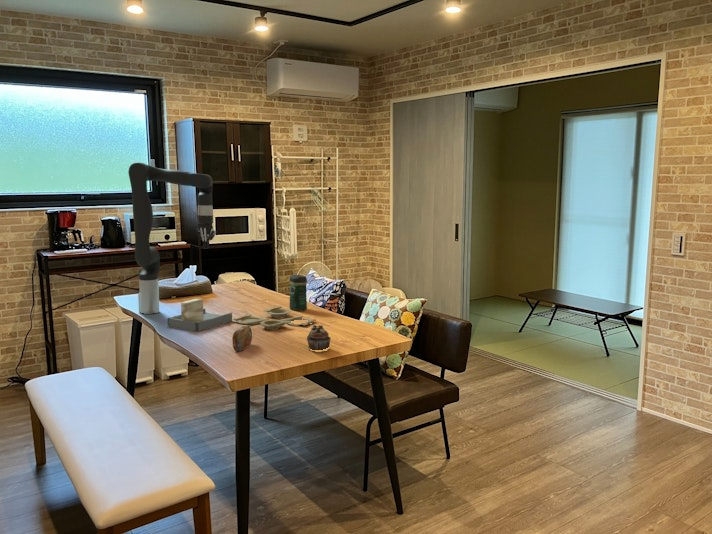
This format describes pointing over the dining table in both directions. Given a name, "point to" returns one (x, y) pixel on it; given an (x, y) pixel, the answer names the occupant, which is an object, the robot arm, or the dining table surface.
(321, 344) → the cupcake
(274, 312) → the tableware set
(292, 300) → the coffee jar
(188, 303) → the birch block
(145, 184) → the robot arm
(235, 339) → the brown flat stone
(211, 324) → the grey tray
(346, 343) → the dining table surface
